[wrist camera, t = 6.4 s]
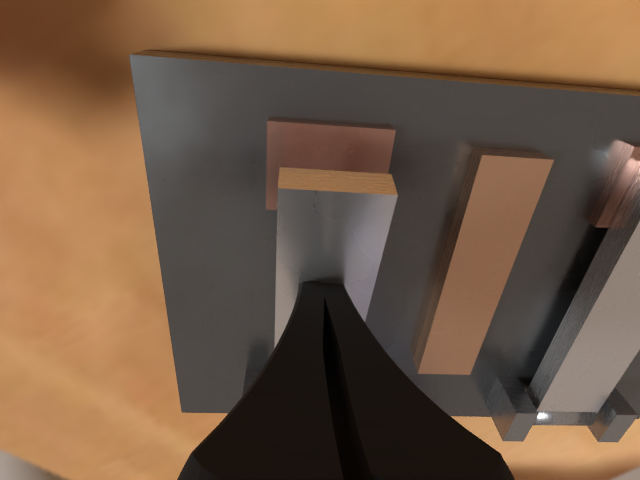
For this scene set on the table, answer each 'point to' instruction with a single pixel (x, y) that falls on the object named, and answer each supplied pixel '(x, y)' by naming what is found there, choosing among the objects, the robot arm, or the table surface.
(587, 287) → the bar
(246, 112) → the plate
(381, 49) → the table surface
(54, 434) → the table surface
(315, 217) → the bar
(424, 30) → the table surface
